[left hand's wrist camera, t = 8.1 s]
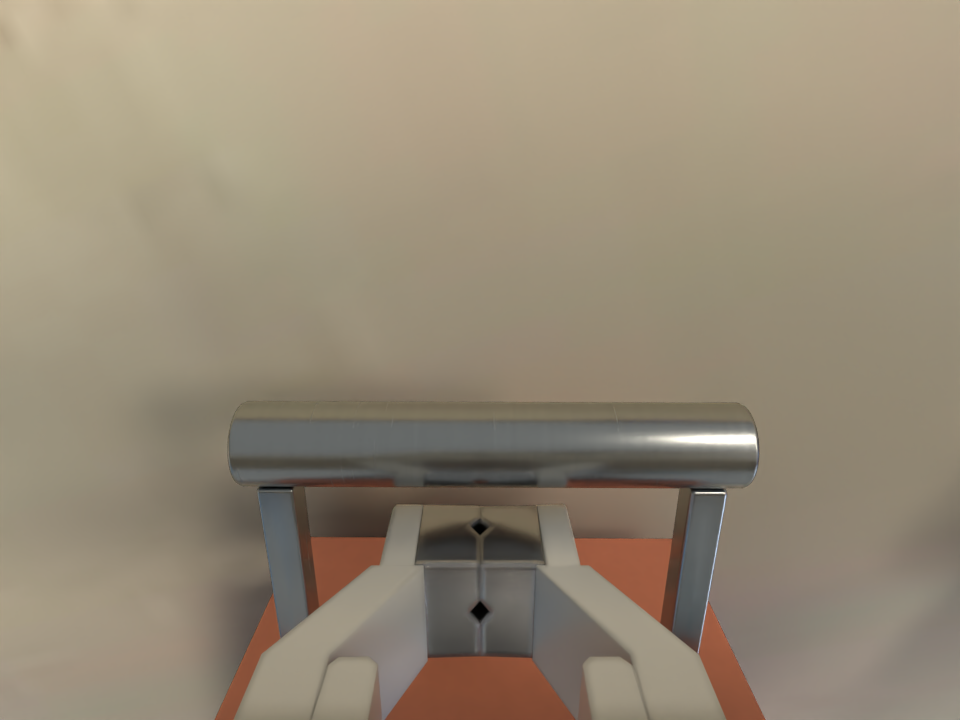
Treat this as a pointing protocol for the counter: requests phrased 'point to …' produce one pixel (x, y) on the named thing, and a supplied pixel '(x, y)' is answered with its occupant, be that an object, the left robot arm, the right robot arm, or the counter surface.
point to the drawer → (511, 464)
